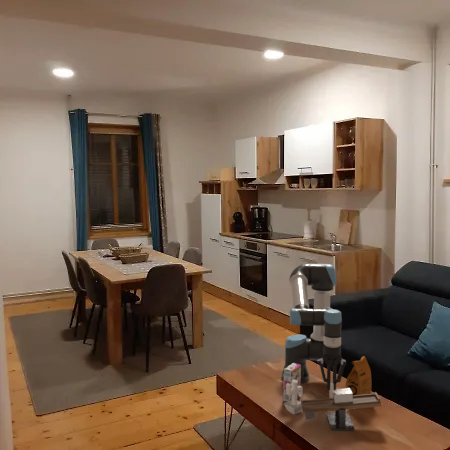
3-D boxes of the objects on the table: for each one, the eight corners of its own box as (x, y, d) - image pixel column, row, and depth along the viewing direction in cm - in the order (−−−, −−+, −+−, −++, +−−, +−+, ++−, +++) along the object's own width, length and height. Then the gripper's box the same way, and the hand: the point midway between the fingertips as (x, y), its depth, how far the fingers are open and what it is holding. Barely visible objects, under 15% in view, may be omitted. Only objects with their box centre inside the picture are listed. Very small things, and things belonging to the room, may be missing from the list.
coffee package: (342, 403, 231) (342, 359, 229) (356, 396, 239) (357, 353, 237) (359, 410, 223) (360, 365, 222) (374, 402, 231) (375, 358, 230)
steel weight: (333, 400, 213) (331, 389, 213) (351, 398, 213) (349, 387, 212) (335, 405, 208) (333, 394, 207) (353, 404, 207) (352, 393, 207)
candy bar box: (291, 404, 230) (292, 371, 229) (282, 401, 233) (282, 369, 232) (301, 395, 239) (301, 364, 238) (292, 393, 242) (292, 362, 241)
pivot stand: (326, 415, 218) (326, 396, 218) (348, 416, 218) (348, 397, 217) (331, 430, 204) (331, 410, 204) (354, 431, 204) (355, 411, 203)
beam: (302, 411, 216) (300, 398, 216) (377, 404, 214) (375, 391, 213) (303, 420, 207) (302, 407, 207) (382, 413, 205) (380, 399, 205)
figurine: (307, 411, 222) (307, 380, 221) (292, 417, 216) (292, 385, 215) (296, 406, 228) (296, 375, 227) (281, 411, 222) (281, 380, 221)
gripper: (318, 347, 205) (317, 400, 207) (348, 348, 204) (347, 401, 206) (316, 342, 213) (315, 392, 214) (345, 342, 212) (344, 393, 214)
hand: (331, 396), depth 210 cm, fingers closed
